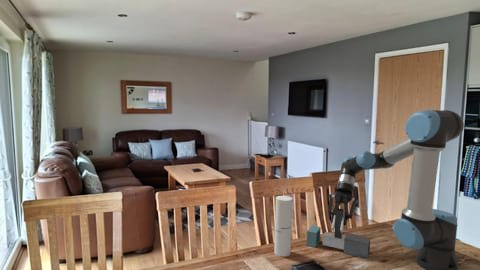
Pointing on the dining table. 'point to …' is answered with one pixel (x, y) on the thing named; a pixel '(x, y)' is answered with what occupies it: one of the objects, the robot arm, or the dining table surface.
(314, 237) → the socket block
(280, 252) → the cylindrical container
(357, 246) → the matte charcoal box
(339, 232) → the gray bar with post
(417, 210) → the robot arm
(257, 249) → the dining table surface
